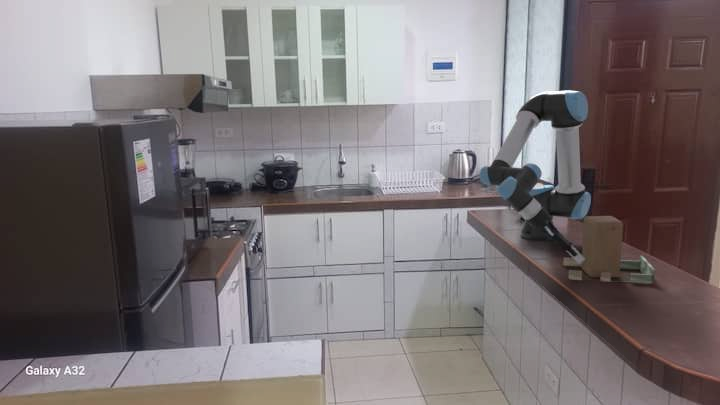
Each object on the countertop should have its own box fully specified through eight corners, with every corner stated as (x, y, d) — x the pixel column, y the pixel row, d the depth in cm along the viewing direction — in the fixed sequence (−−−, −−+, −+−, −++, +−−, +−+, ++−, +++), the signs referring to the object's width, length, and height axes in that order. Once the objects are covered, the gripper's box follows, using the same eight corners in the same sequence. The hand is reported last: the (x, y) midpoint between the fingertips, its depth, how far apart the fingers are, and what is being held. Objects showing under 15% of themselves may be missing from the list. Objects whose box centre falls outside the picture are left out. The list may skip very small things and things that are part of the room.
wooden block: (620, 278, 166) (624, 222, 162) (590, 278, 167) (593, 222, 163) (609, 268, 176) (612, 215, 172) (580, 268, 177) (583, 215, 173)
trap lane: (563, 265, 182) (564, 252, 181) (641, 268, 175) (642, 255, 174) (568, 279, 168) (569, 265, 167) (653, 283, 160) (654, 269, 160)
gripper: (525, 216, 180) (571, 261, 179) (526, 224, 168) (575, 274, 167) (540, 202, 177) (587, 248, 176) (543, 210, 165) (593, 260, 164)
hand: (581, 261), depth 171 cm, fingers closed
